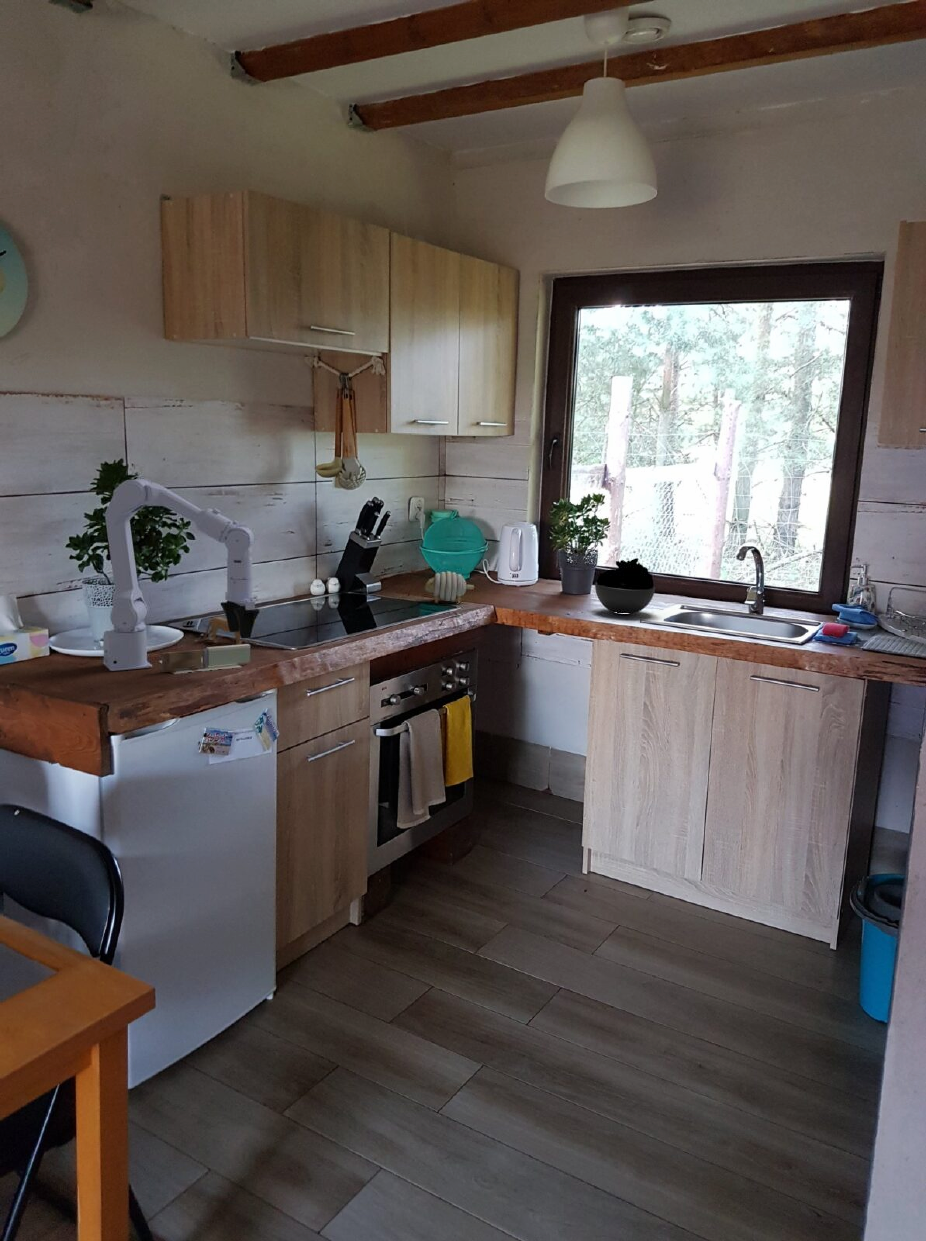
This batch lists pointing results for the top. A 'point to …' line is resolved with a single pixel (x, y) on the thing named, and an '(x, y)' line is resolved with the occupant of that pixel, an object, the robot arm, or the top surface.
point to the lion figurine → (223, 625)
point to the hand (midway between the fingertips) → (239, 634)
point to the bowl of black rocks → (625, 587)
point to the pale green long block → (226, 655)
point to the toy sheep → (447, 586)
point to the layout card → (207, 668)
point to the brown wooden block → (181, 660)
